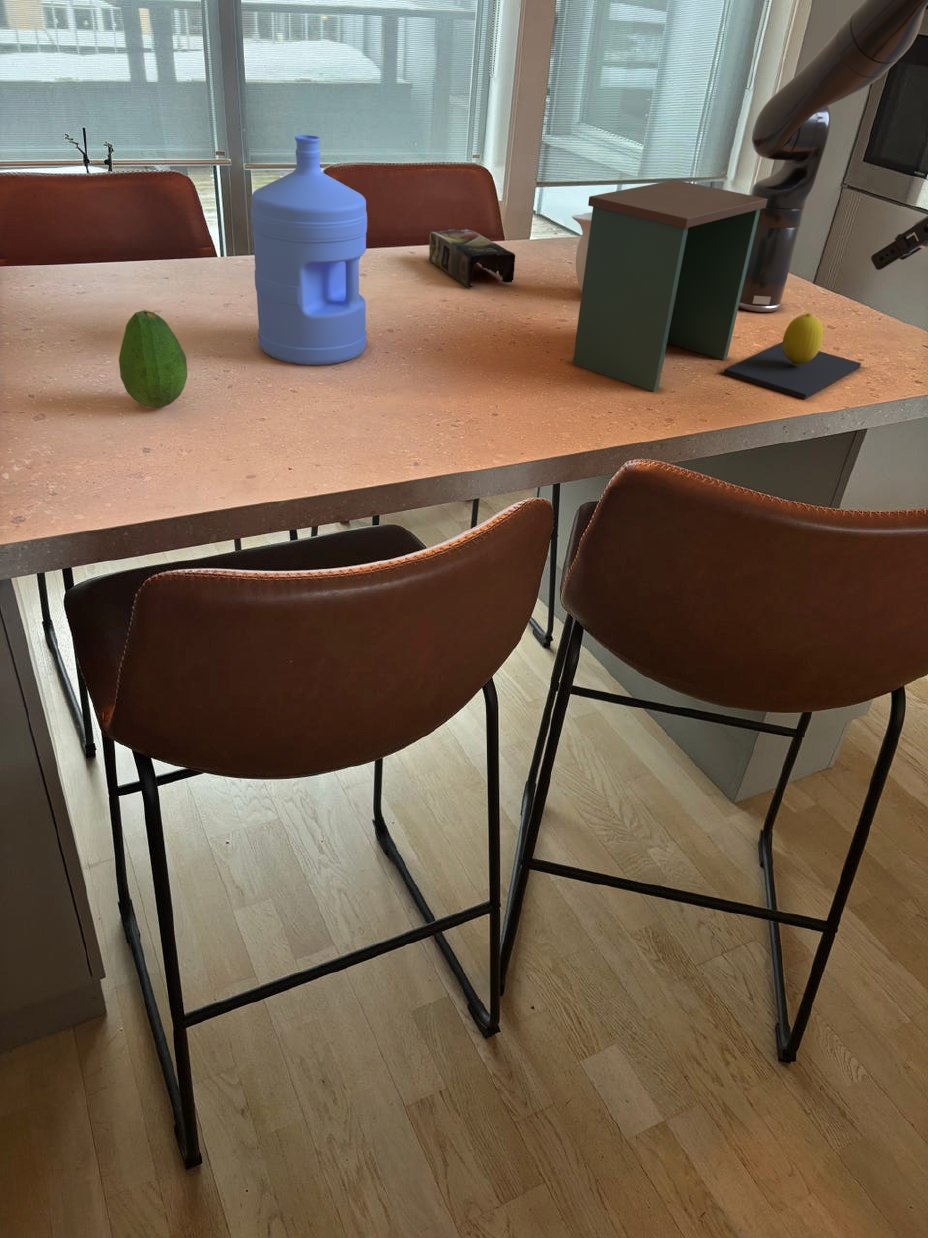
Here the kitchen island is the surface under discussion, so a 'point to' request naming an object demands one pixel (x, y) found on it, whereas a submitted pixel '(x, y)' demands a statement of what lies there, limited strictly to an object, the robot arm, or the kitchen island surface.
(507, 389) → the kitchen island surface
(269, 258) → the water jug
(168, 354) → the avocado
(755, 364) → the mat
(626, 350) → the cupboard
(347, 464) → the kitchen island surface
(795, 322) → the lemon
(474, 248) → the dark printed box
